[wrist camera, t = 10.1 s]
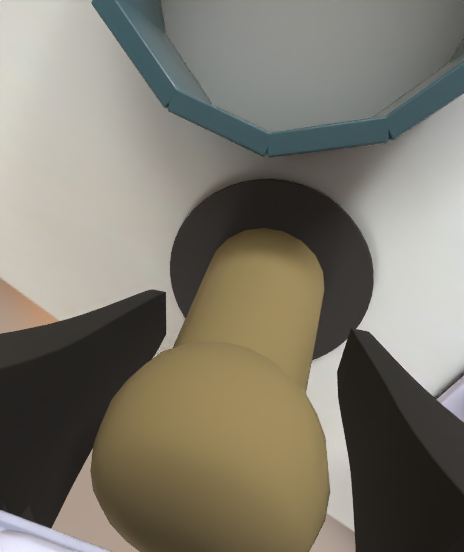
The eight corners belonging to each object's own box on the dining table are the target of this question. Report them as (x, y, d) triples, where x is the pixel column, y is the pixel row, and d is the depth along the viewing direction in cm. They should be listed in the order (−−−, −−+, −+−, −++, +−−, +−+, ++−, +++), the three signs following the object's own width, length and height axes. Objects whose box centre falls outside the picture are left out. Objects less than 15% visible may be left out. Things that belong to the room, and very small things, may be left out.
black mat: (421, 240, 13) (424, 243, 12) (304, 388, 18) (304, 393, 17) (211, 139, 13) (208, 139, 13) (152, 311, 18) (148, 315, 17)
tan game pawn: (196, 311, 17) (37, 548, 7) (224, 210, 14) (27, 360, 4) (297, 350, 16) (284, 667, 6) (346, 253, 13) (459, 543, 4)
